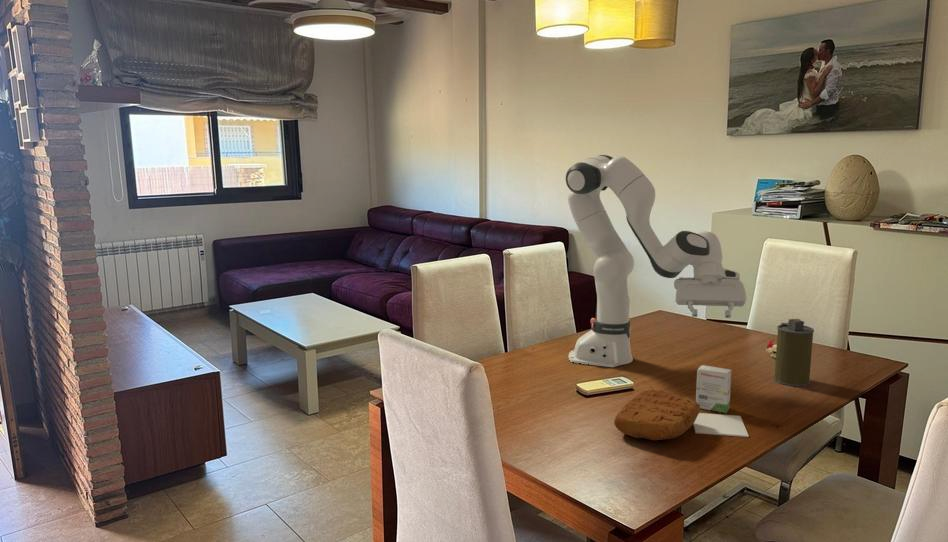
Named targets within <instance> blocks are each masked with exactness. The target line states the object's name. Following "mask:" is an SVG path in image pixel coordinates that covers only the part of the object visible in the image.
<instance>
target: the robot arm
mask: <svg viewBox="0 0 948 542" xmlns="http://www.w3.org/2000/svg"><path fill="white" fill-rule="evenodd" d="M565 184H566V186H567V188H568V189H569V191H570V192H569V193H568V195H567V202H568V206H569V209H570V212H571V215H572V218H573V220H574V222H575V225H576V226H577V228H578V231H579V233H580V235H581V237H582V240H583V242H584V243H585V245H587V246H588V247H589V249H590V250H591V252H592V253H593V254H594V255H595V257H596V261H595V262H594V266H593V270H592V274H593V277H594V284H595V292H596V299H597V300H596V301H597V302H596V303H597V304H596V305H597V307H596V308H597V309H596V318H595V317H591V319H590V321H589V322H590V326H591V327H590V330H589V331H587V332H586V333H584V334H582V335H581V336H579V338H577V341H576V343H575V346H574V349H573V350H571V351H569V352H568V358H569V359H568V358H567V359H568V361H569V360H570V361H569V362H571V363H572V362H574V363H573V364H579V363H581V365H588V364H589V366H597V367H606V368H615V367H618V366H622V365H627V364H630V363H632V362H633V360H634V359H633V356H632V351H631V343H630V337H631V325H632V324H631V320H630V304H631V303H630V301H631V299H630V296H629V290H628V277H629V275H630V274H631V273H632V271H634V270H633V269H634V264H635V262H634V256H633V255H632V253H631V252H630V251H629V249H628V248H627V246H626V245H625V243H624V242H623V240H622V238H621V237H620V235H619V234H618V232H617V230H616V229H615V227H614V225H613V224H612V221H611V219H610V217H609V214H608V213H607V211H606V209H605V207H604V205H603V203H602V201H601V200H602V199H601V196H600V194H601V192H602V191H606V190H607V189H608V188H609V189H610V190H611V191H612V192H613V193H614V194H615V196H616V198H618V199H619V201H620V203H621V204H622V206H623V208H624V211H625V214H626V222H627V224H628V225H629V227H630V229H631V231H632V233H633V235H634V236H635V238H636V240H637V241H638V242H639V244H640V246H641V247H642V249H643V250H644V252H645V254H646V255H647V257H648V259H649V262H650V264H651V267H652V269H653V270H654V272H655V273H656V274H658V276H660V277H662V278H666V279H674V278H676V279H675V280H674V282H673V286H674V289H676V291H675V303H676V304H677V305H678V306H687V309H688V310H689V311H690V312H691V317H695V318H696V317H697V318H698V309H696V308H694V306H703V307H704V306H707V307H708V306H709V307H710V306H712V307H728V308H727V310H726V309H725V311H724V318H725V319H731V318H732V317H731V316H732V311H733V309H734V307H739V308H740V307H741V308H742V307H743V306H744V305H745V304H746V301H747V293H746V289H745V285H744V283H743V282H742V281H741V276H740V273H739V272H738V271H735V270H730V269H727V268H725V267H723V265H722V261H723V250H722V245H721V241H720V239H719V238H718V236H717V235H716V233H714V232H711V231H705V230H704V231H699V232H694V231H689V230H681V231H679V232H678V233H677V234H675V235H674V236H673V237H671V238H670V239H669V240H668V241H667V243H665V244H664V245H663V244H662V243H661V241H660V239H659V238H658V235H656V232H655V231H654V229H653V228H652V226H651V223H650V222H651V221H650V216H651V213H652V209H653V207H654V204H655V200H656V188H655V187H654V185H653V183H652V182H651V180H649V178H648V177H647V175H646V174H644V172H643V171H642V170H641V169H640V168H639V167H638V166H637V165H635V164H634V163H633V162H632V161H631V160H630V159H628V158H627V157H626V156H622V155H621V156H620V155H619V156H616V157H613V156H610V155H607V154H599V155H596V156H593V157H588V158H585V159H584V160H582V161H580V162H576V163H575V164H573V165H571V167H569V168H568V169H567V171H566V174H565ZM688 266H691V267H692V268H693V277H683V276H681V277H678V278H677V276H678V275H680V274H681V273H682V272H683V270H684V269H686V267H688Z"/></svg>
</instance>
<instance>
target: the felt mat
mask: <svg viewBox="0 0 948 542" xmlns="http://www.w3.org/2000/svg"><path fill="white" fill-rule="evenodd" d="M692 426H693V430H694V433H695V434H702V435H714V436H715V435H716V436H728V437H730V436H731V437H738V438H739V437H741V438H749V436H750V435H749V433H748V431H747V428H746V427H745V424H744V422H743V418H742V417H741V415H731V414H721V413H720V414H718V413H717V414H715V413H706V412H705V413H703V412H699V414H698V416H697V418H696V420H695V422H694V423H693V424H692Z"/></svg>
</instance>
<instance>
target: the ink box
mask: <svg viewBox="0 0 948 542" xmlns="http://www.w3.org/2000/svg"><path fill="white" fill-rule="evenodd" d="M731 383H732V369H729V368H723V367H715V366H711V365H710V366H709V365H703V364H701V365H700V366H699V367H698V369H697V371H696V388H695V389H696V391H695V393H696V394H695V401H696V402H697V404H699V405H700V409H701V410H707V411H711V410H712V412H716V411H718V412H717V413H721V412H723V413H722V414H727V413H728V412H729V409H730V407H731V405H730V403H731V389H732V387H731V385H732V384H731ZM727 411H728V412H727Z"/></svg>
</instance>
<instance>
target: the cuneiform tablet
mask: <svg viewBox="0 0 948 542" xmlns="http://www.w3.org/2000/svg"><path fill="white" fill-rule="evenodd" d="M699 413H701V410H700V405H699V404H697V402H696V400H695V399H692V398H690V397H688V396H681V395H679V394H676V393H672V392H667V391H662V390H657V389H650V390H644V391H642V392H640V393H638V394H637V395H635V396H634V397H633V398H632V399H630V400H629V401H628V403H626V404H625V405H624V406H623V407H622V409H621V410H620V411H619V412H618V413H616V416H615V417H614V421H613V423H614V426H615V427H616V429H617V430H618V431H620V432H621V433H622V434H624V435H628V436H630V437H633V438H636V439H637V438H638V439H639V438H641V439H642V438H643V439H646V440H650V441H661V440H672V439H677V438H678V437H680V436H681V435H683V434H684V433H685V432H686V431H688V430H689V429H690V428H691V427H692V426H693V423H694V422H695V420H696V418H697V416H698V414H699Z"/></svg>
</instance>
